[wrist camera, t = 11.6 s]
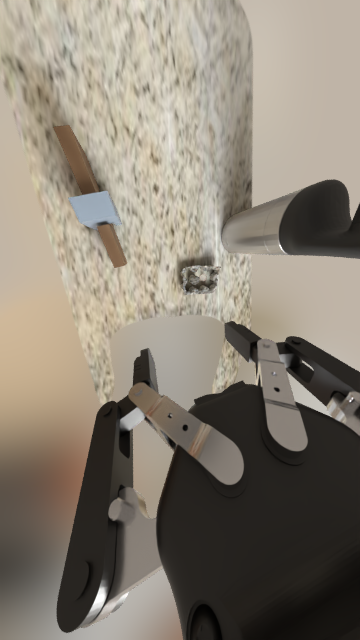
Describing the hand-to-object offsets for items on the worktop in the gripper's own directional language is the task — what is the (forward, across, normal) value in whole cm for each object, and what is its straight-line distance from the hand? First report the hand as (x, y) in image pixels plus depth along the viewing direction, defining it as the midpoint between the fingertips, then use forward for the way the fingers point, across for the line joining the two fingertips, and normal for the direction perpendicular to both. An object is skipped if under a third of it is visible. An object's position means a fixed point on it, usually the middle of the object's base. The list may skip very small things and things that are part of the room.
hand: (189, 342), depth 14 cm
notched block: (+27, +7, -16) cm, 32 cm away
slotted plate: (+27, +7, -16) cm, 32 cm away
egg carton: (+28, -11, +2) cm, 30 cm away
